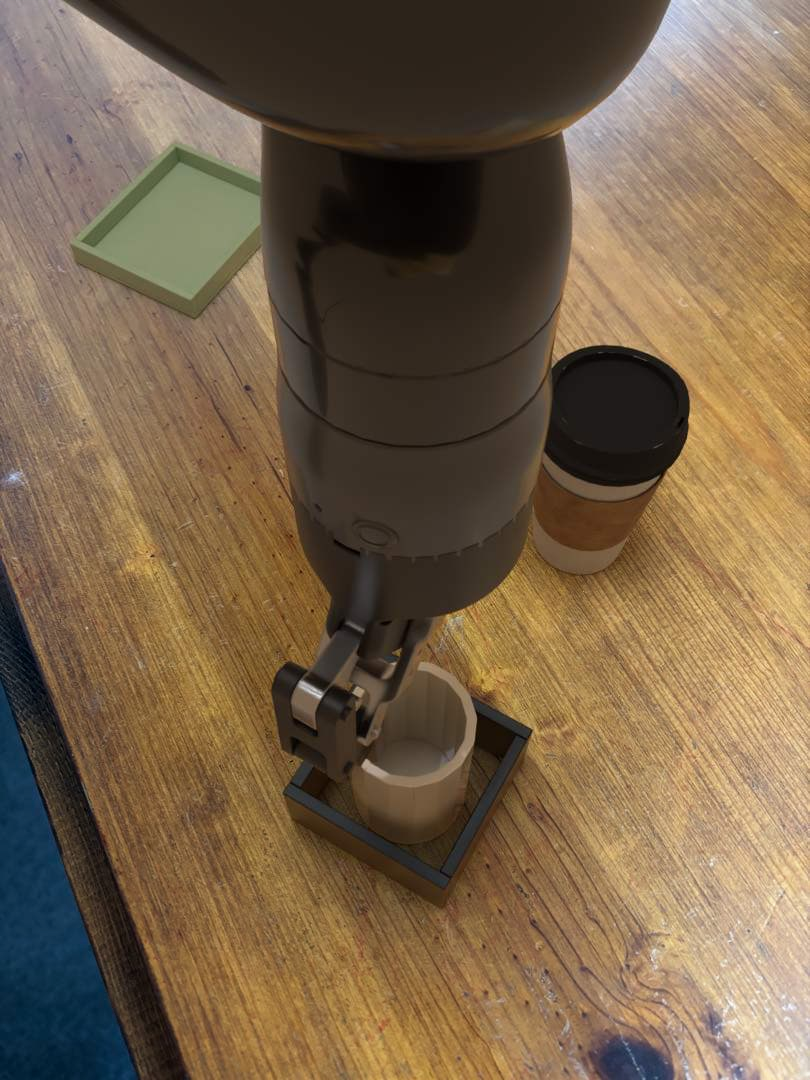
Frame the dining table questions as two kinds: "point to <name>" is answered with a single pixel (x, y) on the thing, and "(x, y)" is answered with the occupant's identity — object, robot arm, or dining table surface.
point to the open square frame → (390, 859)
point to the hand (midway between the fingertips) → (411, 661)
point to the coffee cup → (605, 452)
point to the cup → (419, 760)
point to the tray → (177, 229)
